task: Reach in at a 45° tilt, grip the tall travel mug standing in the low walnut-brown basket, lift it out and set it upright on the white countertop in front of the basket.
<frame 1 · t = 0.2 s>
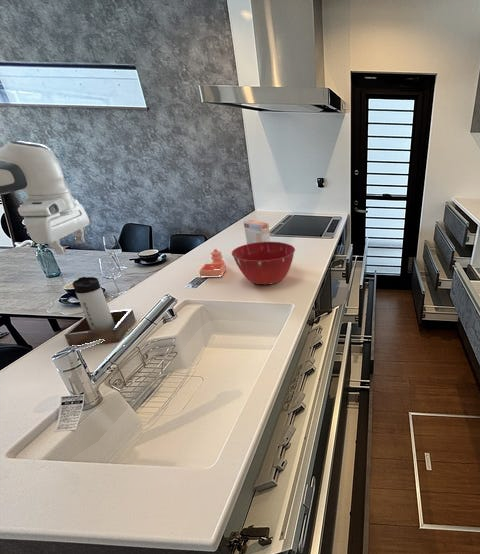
hand: (71, 248, 93), 31 cm above the counter, tool pointing down, fingers open, 8 cm apart
mixing bowl: (267, 279, 150), on the counter
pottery: (216, 271, 157), on the counter
cracker box: (260, 257, 177), on the counter
travel mug: (105, 332, 105), resting on basket
basket: (105, 333, 105), on the counter
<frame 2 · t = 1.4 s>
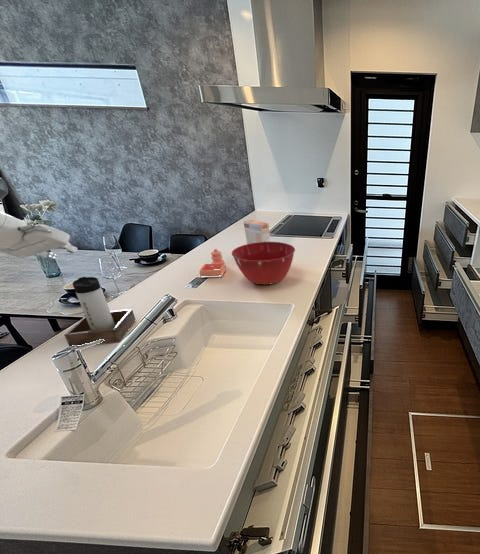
hand: (65, 254, 98), 28 cm above the counter, tool tilted 45°, fingers open, 8 cm apart
nothing on the counter moved.
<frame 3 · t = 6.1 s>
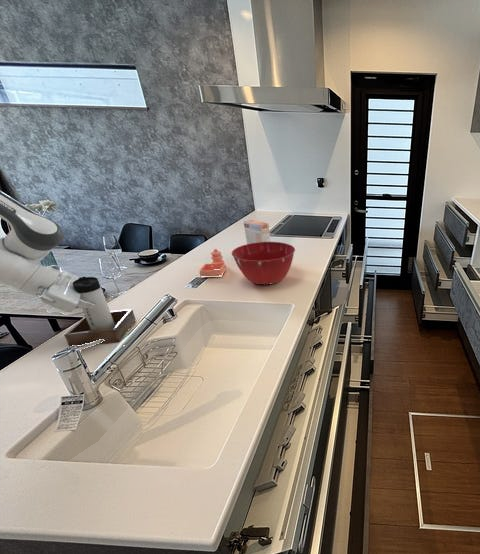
hand: (95, 302, 101), 12 cm above the counter, tool tilted 45°, fingers closed on travel mug, 6 cm apart
travel mug: (105, 332, 105), resting on basket, touching gripper
everything else where it was.
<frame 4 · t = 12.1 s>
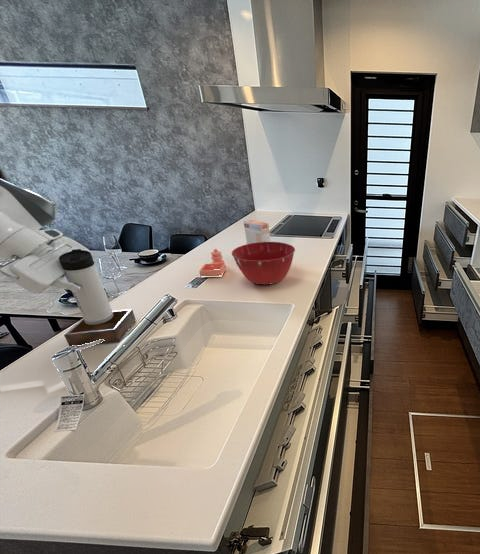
hand: (88, 282, 81), 27 cm above the counter, tool tilted 45°, fingers closed on travel mug, 6 cm apart
travel mug: (99, 318, 86), point 15 cm above the counter, touching gripper
everything else where it was.
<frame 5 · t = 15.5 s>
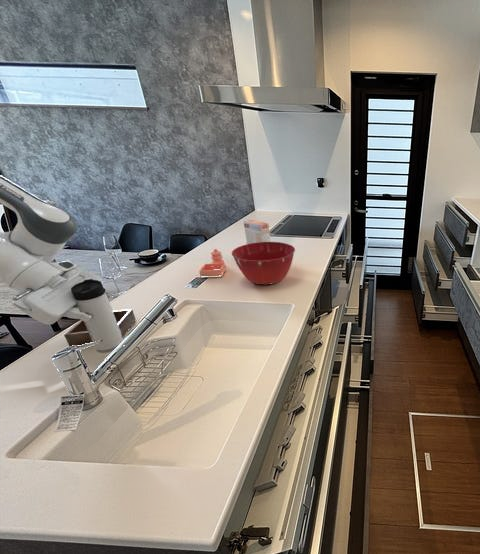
hand: (99, 311, 82), 19 cm above the counter, tool tilted 45°, fingers closed on travel mug, 6 cm apart
travel mug: (111, 346, 87), point 7 cm above the counter, touching gripper
everything else where it was.
when the fingers open (12 cm above the counter, at t = 18.1 s): travel mug stays where it is, on the counter.
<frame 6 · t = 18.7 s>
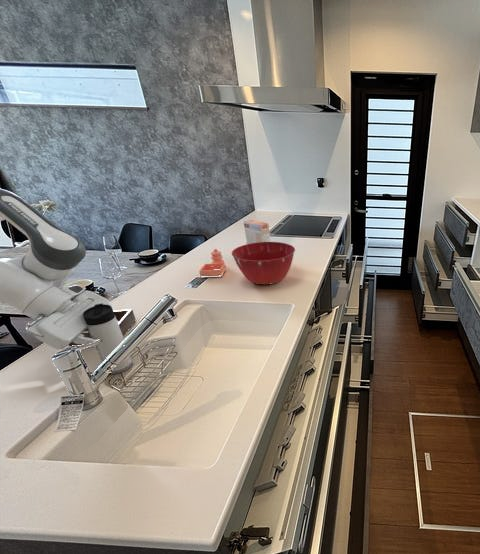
hand: (107, 333, 85), 12 cm above the counter, tool tilted 45°, fingers open, 8 cm apart
travel mug: (120, 367, 90), on the counter
everything else where it was.
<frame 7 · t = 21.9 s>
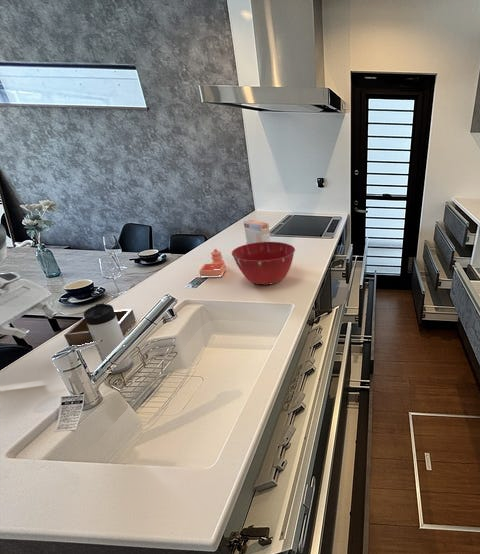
hand: (41, 324, 80), 17 cm above the counter, tool tilted 45°, fingers open, 8 cm apart
nothing on the counter moved.
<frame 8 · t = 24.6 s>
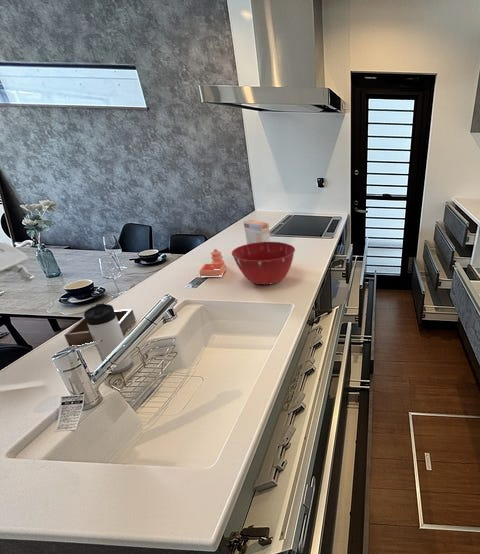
hand: (17, 287, 77), 27 cm above the counter, tool tilted 45°, fingers open, 8 cm apart
nothing on the counter moved.
at the end: travel mug inside the target area (0.4 cm from its centre), on the counter; travel mug tilted 0°; travel mug touching counter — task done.
